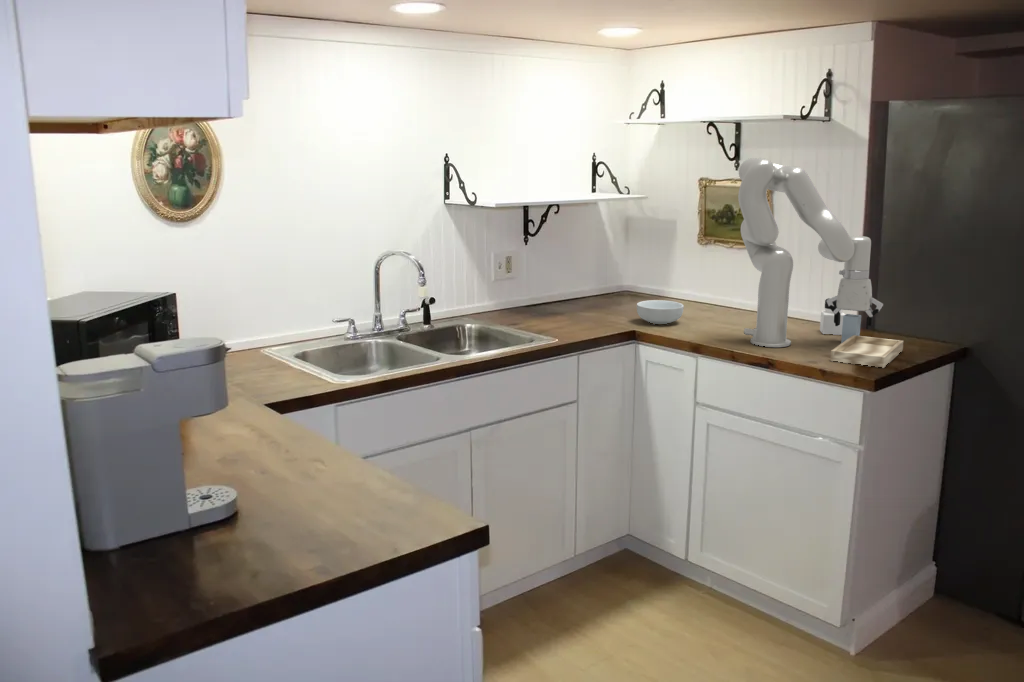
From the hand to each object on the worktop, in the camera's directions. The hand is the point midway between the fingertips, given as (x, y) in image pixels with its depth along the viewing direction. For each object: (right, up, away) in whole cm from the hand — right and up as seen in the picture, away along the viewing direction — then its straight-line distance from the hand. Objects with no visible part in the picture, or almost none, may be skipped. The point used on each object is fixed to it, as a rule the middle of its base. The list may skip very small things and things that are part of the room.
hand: (852, 326), depth 273 cm
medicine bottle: (-1, -2, +16) cm, 16 cm away
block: (0, -5, +1) cm, 5 cm away
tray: (-2, -9, -17) cm, 19 cm away
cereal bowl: (-57, +2, +35) cm, 67 cm away
